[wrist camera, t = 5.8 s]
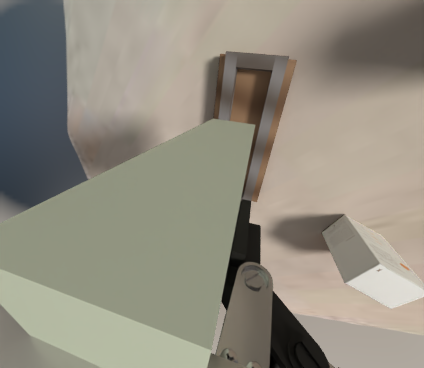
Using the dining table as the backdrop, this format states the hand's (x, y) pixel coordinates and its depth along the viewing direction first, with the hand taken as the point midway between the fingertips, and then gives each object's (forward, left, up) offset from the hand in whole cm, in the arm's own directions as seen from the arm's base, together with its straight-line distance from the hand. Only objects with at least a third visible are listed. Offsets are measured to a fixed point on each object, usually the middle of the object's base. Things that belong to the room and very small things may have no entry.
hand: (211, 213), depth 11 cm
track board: (0, 0, -21) cm, 21 cm away
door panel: (0, 0, -4) cm, 4 cm away
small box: (+14, +23, -21) cm, 34 cm away
